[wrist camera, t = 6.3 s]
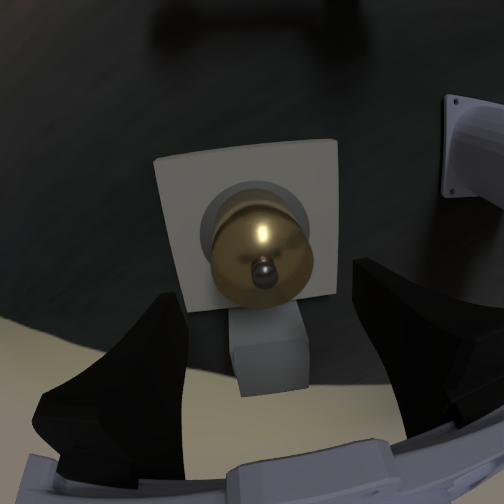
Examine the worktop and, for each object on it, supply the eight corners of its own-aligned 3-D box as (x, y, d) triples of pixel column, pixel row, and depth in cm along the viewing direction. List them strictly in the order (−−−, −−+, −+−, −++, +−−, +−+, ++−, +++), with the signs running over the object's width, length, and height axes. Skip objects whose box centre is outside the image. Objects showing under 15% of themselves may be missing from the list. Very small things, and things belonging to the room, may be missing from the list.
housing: (287, 180, 18) (311, 216, 13) (299, 253, 21) (323, 308, 15) (204, 199, 19) (196, 242, 13) (225, 269, 21) (225, 329, 16)
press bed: (331, 138, 19) (379, 159, 12) (329, 315, 25) (356, 378, 19) (157, 158, 18) (123, 188, 12) (196, 332, 25) (191, 401, 19)
